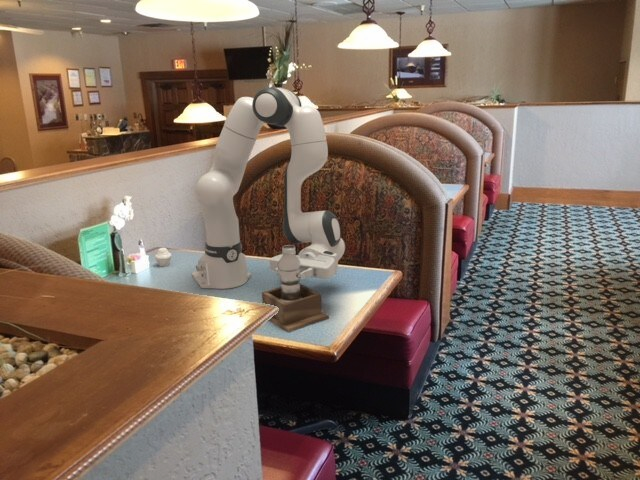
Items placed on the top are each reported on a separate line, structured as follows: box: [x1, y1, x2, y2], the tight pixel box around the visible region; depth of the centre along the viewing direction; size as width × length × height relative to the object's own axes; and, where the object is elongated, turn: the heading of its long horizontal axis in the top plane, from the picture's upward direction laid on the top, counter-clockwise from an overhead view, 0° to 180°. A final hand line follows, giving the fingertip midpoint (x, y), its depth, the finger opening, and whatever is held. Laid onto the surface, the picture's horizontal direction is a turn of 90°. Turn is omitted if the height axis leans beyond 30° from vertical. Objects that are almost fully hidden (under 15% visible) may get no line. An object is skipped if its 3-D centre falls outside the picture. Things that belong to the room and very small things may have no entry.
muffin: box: [154, 247, 172, 267], centre depth 206 cm, size 6×6×7 cm
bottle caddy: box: [261, 283, 330, 333], centre depth 158 cm, size 17×14×7 cm
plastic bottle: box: [278, 244, 302, 303], centre depth 156 cm, size 6×7×20 cm
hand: (288, 274), depth 155 cm, fingers closed on plastic bottle, 6 cm apart
